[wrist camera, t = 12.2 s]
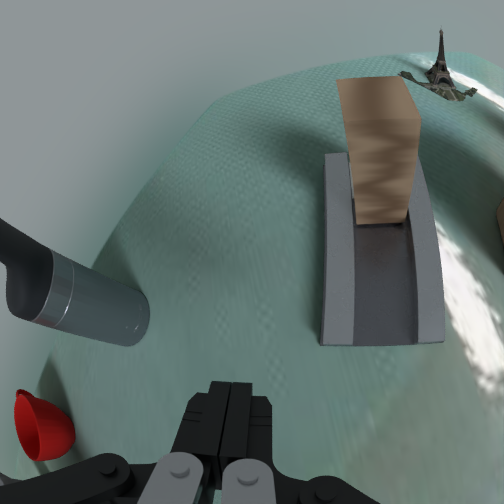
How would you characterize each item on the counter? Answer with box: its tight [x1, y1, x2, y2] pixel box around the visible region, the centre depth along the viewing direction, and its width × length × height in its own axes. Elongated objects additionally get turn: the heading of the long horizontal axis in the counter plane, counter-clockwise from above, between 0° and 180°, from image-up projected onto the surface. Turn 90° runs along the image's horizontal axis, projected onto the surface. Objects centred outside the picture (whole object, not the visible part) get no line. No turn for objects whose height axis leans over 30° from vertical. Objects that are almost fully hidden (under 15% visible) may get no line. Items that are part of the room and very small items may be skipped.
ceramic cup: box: [14, 389, 75, 461], centre depth 33 cm, size 13×17×10 cm
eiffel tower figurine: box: [398, 30, 477, 101], centre depth 31 cm, size 15×10×13 cm
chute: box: [320, 152, 445, 346], centre depth 29 cm, size 14×24×3 cm, turn 175°
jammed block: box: [336, 76, 421, 224], centre depth 24 cm, size 6×6×16 cm
